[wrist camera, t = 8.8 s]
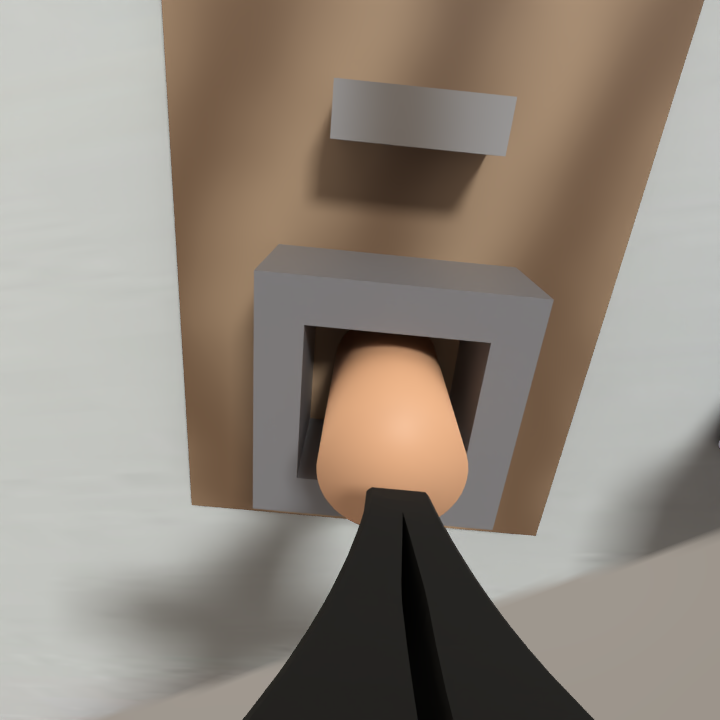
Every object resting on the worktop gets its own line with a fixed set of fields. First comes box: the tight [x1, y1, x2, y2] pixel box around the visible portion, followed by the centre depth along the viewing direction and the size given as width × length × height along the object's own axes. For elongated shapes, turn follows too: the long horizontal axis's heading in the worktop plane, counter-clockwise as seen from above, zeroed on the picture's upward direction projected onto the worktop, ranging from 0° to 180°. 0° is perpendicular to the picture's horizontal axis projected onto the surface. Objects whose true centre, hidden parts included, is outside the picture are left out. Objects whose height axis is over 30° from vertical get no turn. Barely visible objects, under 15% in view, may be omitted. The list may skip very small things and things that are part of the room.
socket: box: [253, 244, 554, 530], centre depth 17 cm, size 9×9×4 cm
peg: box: [317, 329, 468, 525], centre depth 16 cm, size 4×4×7 cm
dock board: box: [162, 0, 704, 536], centre depth 17 cm, size 16×26×4 cm, turn 175°
